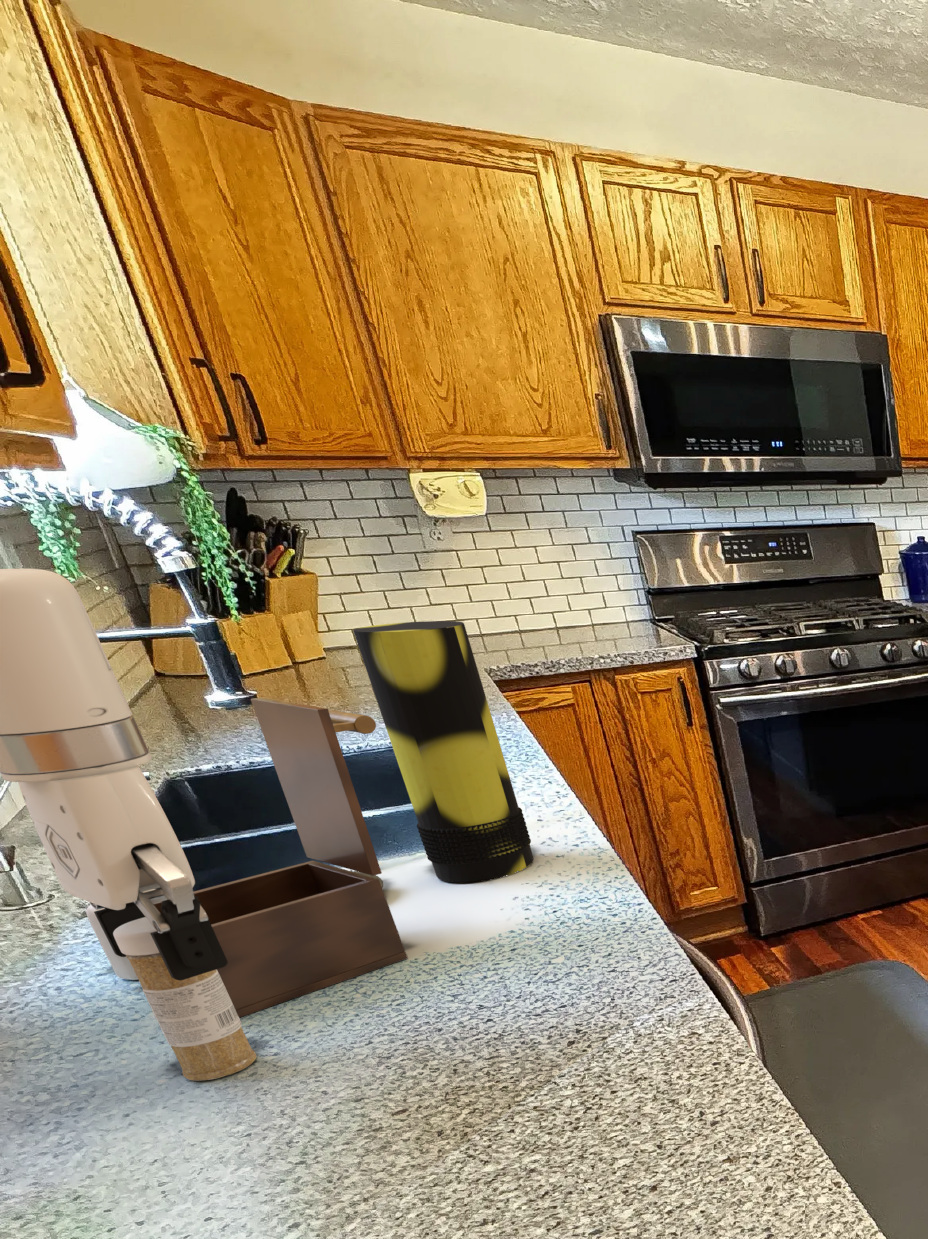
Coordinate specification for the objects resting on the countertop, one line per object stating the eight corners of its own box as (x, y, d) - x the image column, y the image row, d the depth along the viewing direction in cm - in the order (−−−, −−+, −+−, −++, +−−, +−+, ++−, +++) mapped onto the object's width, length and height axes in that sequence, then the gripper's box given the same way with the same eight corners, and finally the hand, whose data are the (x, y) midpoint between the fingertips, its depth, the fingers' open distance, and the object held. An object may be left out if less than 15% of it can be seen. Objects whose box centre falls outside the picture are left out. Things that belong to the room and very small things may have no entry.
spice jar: (220, 1054, 84) (153, 910, 79) (273, 1054, 84) (209, 909, 79) (168, 1084, 80) (92, 933, 75) (223, 1084, 80) (152, 933, 75)
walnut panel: (317, 709, 92) (386, 700, 96) (250, 698, 97) (318, 690, 101) (372, 875, 98) (435, 859, 102) (306, 857, 103) (368, 842, 108)
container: (515, 849, 133) (446, 618, 121) (551, 865, 127) (482, 624, 115) (420, 872, 125) (336, 627, 113) (454, 891, 119) (368, 634, 107)
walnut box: (215, 1026, 89) (173, 937, 85) (151, 998, 94) (109, 913, 91) (408, 958, 102) (379, 879, 98) (342, 936, 107) (312, 860, 103)
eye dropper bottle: (116, 972, 99) (60, 860, 94) (193, 953, 103) (143, 845, 98) (120, 985, 97) (62, 870, 92) (198, 965, 100) (147, 854, 96)
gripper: (-51, 749, 72) (60, 960, 79) (46, 774, 65) (159, 1003, 72) (91, 728, 78) (183, 925, 85) (194, 749, 71) (285, 962, 78)
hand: (172, 961), depth 78 cm, fingers open, 9 cm apart
